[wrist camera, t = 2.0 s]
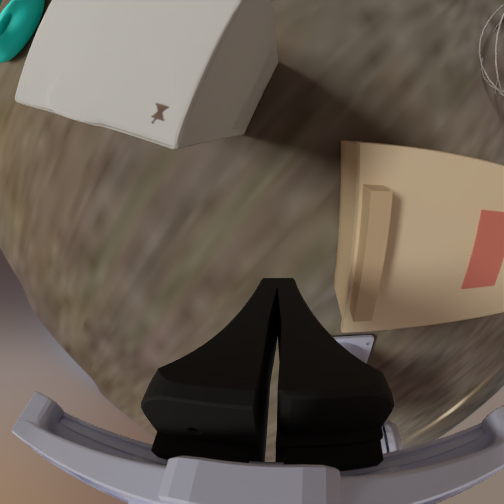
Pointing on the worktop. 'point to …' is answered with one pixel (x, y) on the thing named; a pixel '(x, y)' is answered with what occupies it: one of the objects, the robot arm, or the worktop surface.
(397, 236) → the lid
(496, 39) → the kitchen whisk
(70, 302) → the worktop surface
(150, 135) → the small box
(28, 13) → the donuts
